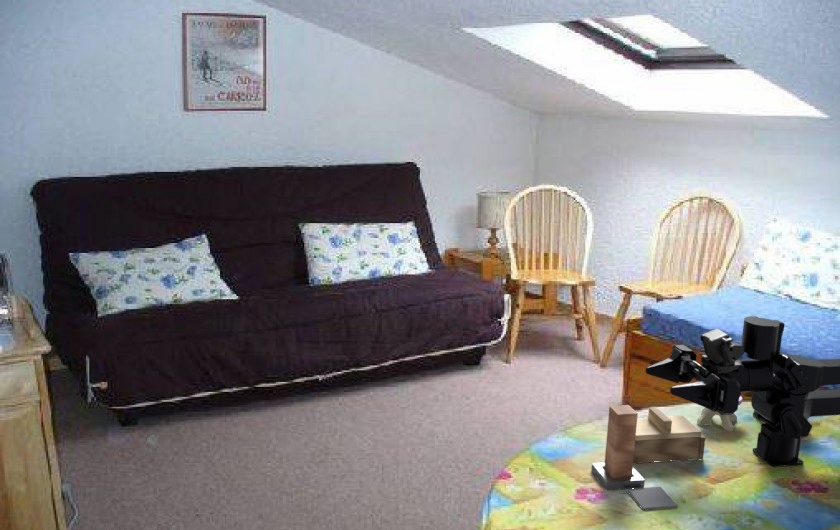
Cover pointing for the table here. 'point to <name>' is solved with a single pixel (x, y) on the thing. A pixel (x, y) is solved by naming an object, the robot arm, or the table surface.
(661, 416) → the lid
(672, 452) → the tan boxy piece
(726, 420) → the toy table
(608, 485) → the socket
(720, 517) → the table surface
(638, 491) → the felt pad
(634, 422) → the brown rectangular block
